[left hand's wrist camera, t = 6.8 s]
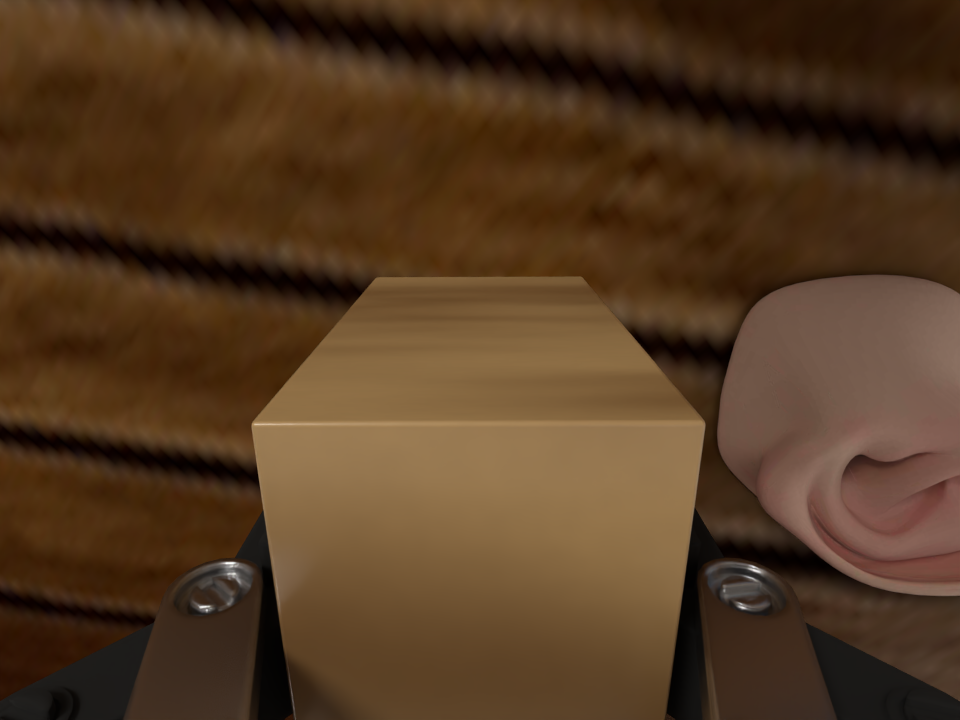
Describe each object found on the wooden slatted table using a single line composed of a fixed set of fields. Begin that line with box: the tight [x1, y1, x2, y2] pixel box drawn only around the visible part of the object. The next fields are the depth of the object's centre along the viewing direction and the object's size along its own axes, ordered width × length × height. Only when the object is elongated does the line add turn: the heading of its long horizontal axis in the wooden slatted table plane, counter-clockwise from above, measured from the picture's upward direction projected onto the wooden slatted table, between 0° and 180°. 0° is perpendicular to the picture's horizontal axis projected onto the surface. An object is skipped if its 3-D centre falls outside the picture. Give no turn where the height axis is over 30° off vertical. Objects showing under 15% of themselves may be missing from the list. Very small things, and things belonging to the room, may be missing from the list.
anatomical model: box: [717, 275, 960, 596], centre depth 22 cm, size 13×4×12 cm
